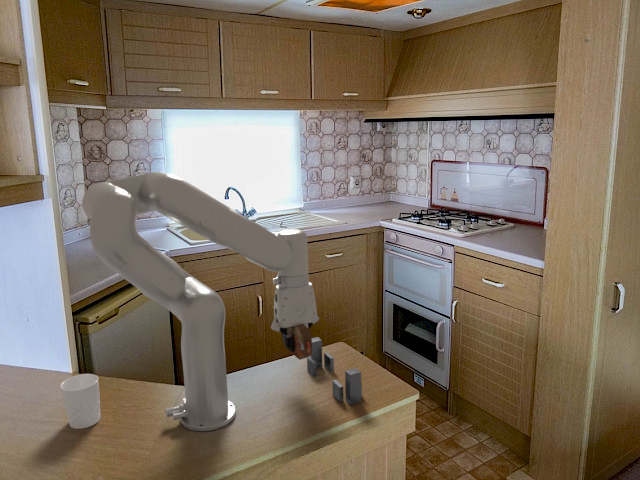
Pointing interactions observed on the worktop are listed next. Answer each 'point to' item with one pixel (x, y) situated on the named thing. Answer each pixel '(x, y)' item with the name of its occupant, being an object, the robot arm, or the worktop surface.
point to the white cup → (81, 400)
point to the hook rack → (351, 376)
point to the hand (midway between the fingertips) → (296, 347)
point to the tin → (301, 342)
